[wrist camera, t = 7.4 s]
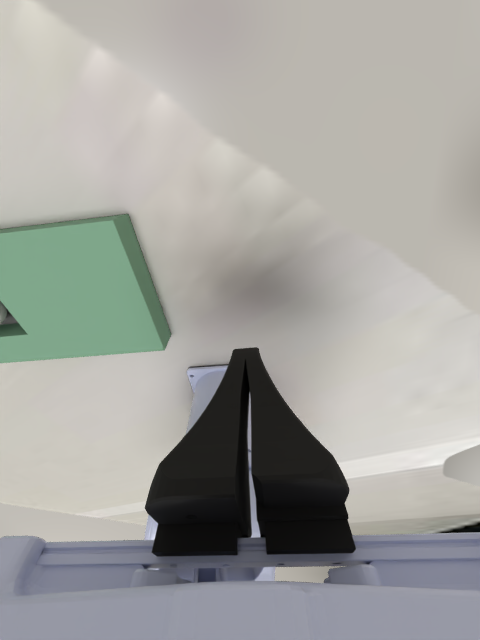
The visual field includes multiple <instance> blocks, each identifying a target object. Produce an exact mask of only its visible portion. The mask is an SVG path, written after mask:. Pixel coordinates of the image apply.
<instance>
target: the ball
mask: <svg viewBox="0 0 480 640" xmlns="http://www.w3.org/2000/svg"><path fill="white" fill-rule="evenodd" d="M6 315H7V309H6V307H5V306H4V304H3V303H2V302H1V301H0V324H1V323H2V322H3V321H4V320H5V318H6Z"/></svg>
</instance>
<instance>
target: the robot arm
mask: <svg viewBox="0 0 480 640" xmlns="http://www.w3.org/2000/svg"><path fill="white" fill-rule="evenodd" d="M187 375H188V378H189V381H190V384H191V387H192V389H193V392H194V397H193V402H192V407H191V412H190V417H189V421H188V426H187V431H186V435H185V436H184V438H183V439H182V440H181V441H180V442H179V443H178V445H177V446H176V447H175V448H174V449H173V450H172V451H171V452H170V453H169V454H168V455H167V456H166V457H165V458H164V460H163V461H162V462H161V463H160V464H159V466H158V469H157V471H156V473H155V476H154V479H153V481H152V484H151V487H150V490H149V494H148V498H147V501H146V505H145V509H146V511H147V513H148V514H149V516H148V521H147V526H146V532H145V540H126V541H125V540H123V541H80V542H46V541H45V540H43V539H41V538H39V537H35V536H4V537H2V538H0V640H480V533H435V534H391V535H352V533H351V530H350V527H349V523H348V520H347V519H348V513H347V510H346V507H345V504H344V503H345V501H346V499H347V497H348V494H349V487H348V484H347V482H346V479H345V477H344V475H343V473H342V471H341V469H340V467H339V465H338V464H337V462H336V460H335V458H334V457H333V455H332V454H331V453H330V452H329V451H328V450H327V449H326V448H325V447H324V446H323V445H322V444H321V443H320V442H319V441H318V440H317V439H316V438H315V437H314V436H313V435H312V434H311V433H310V432H309V431H308V429H307V428H306V427H305V426H304V425H303V424H302V422H301V421H300V420H299V419H298V418H297V416H296V415H295V414H294V413H293V412H292V410H291V409H290V408H289V406H288V405H287V404H286V402H285V401H284V399H283V398H282V396H281V395H280V393H279V392H278V390H277V389H276V387H275V385H274V384H273V382H272V380H271V378H270V376H269V374H268V373H267V371H266V369H265V366H264V364H263V362H262V359H261V356H260V353H259V349H258V348H257V347H256V348H244V349H234V350H233V353H232V356H231V359H230V362H229V365H226V366H212V367H198V368H189V369H188V370H187ZM305 566H346V567H340V568H333V569H329V571H328V574H329V577H328V578H326V579H325V580H324V583H309V582H287V581H274V579H275V567H305Z"/></svg>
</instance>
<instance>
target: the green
mask: <svg viewBox="0 0 480 640" xmlns="http://www.w3.org/2000/svg"><path fill="white" fill-rule="evenodd" d="M0 301H1V302H2V303H3V304H4V306H5V307H6V309H7V315H6V318H5V320H4V321H3V322H2V323H1V324H0V363H9V362H22V361H35V360H47V359H60V358H73V357H85V356H98V355H111V354H124V353H136V352H149V351H162V350H165V348H166V346H167V343H168V341H169V339H170V336H171V333H170V330H169V327H168V324H167V322H166V319H165V316H164V313H163V310H162V308H161V305H160V302H159V299H158V296H157V294H156V291H155V288H154V285H153V282H152V280H151V277H150V274H149V271H148V268H147V266H146V263H145V260H144V257H143V254H142V252H141V249H140V246H139V243H138V240H137V238H136V235H135V232H134V229H133V226H132V224H131V221H130V218H129V215H128V214H124V215H116V216H107V217H99V218H91V219H82V220H74V221H66V222H57V223H49V224H41V225H32V226H24V227H16V228H8V229H0Z"/></svg>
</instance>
